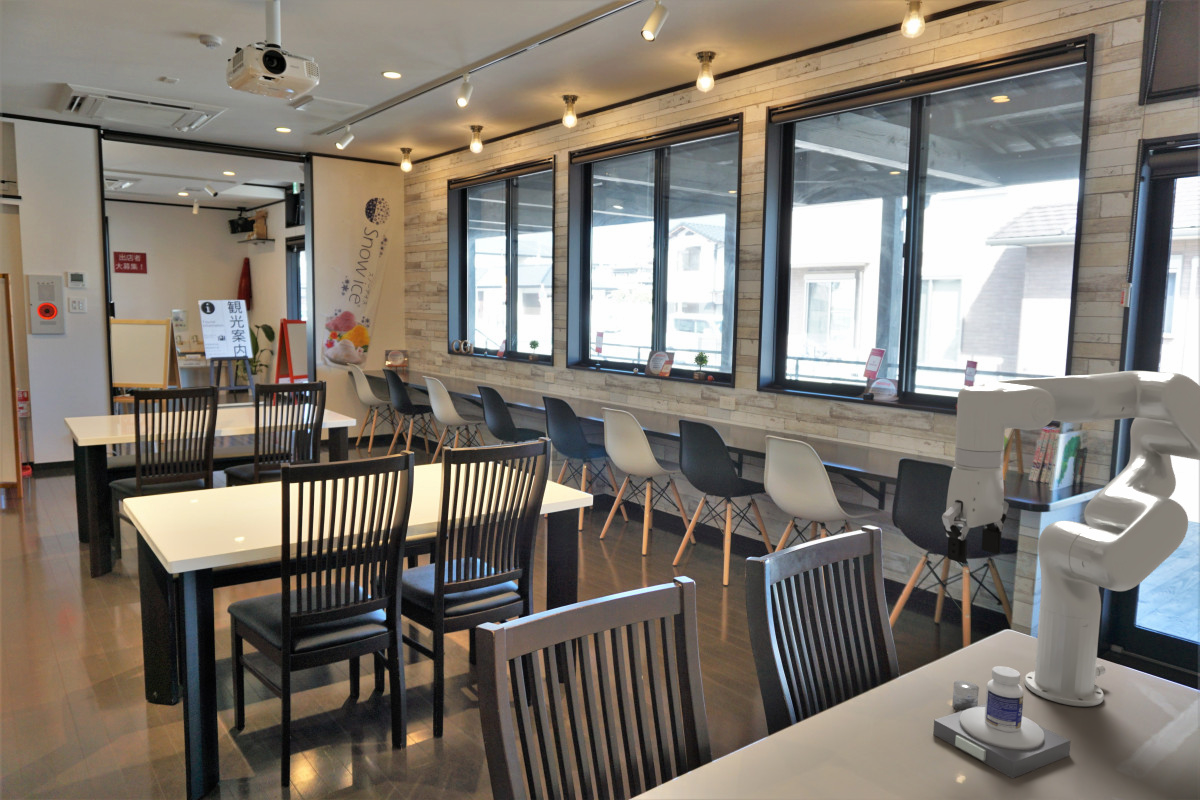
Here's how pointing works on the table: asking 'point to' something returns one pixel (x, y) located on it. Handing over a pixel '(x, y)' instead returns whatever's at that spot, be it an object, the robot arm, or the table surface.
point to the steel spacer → (965, 695)
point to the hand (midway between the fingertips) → (974, 556)
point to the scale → (1002, 742)
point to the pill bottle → (1004, 700)
